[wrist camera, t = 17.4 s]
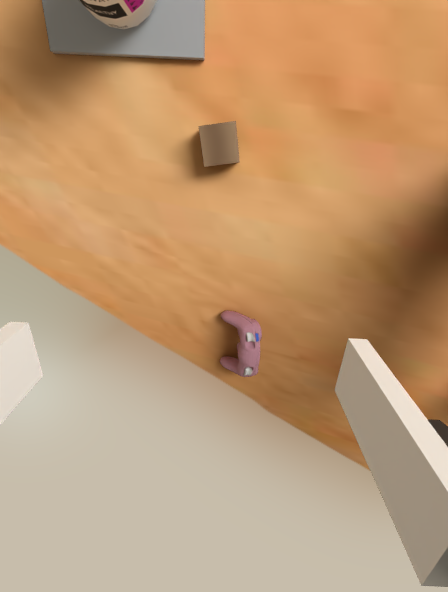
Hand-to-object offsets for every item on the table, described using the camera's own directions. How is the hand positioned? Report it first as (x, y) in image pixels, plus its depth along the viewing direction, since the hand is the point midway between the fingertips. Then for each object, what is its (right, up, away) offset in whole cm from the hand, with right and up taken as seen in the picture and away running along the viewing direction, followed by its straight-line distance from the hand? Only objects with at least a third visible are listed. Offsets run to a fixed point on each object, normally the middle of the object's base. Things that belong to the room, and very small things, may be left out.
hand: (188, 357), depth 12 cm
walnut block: (+1, +20, +22) cm, 30 cm away
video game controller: (+4, -4, +34) cm, 34 cm away
